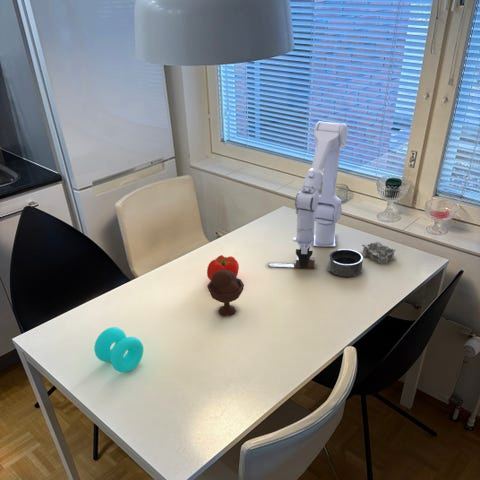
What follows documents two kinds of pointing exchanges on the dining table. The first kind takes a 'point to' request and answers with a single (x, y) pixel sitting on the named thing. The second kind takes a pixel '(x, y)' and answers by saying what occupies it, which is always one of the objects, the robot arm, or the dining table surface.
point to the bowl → (345, 262)
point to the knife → (295, 264)
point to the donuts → (118, 349)
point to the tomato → (222, 265)
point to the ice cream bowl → (225, 290)
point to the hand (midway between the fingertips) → (303, 262)
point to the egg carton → (378, 252)
